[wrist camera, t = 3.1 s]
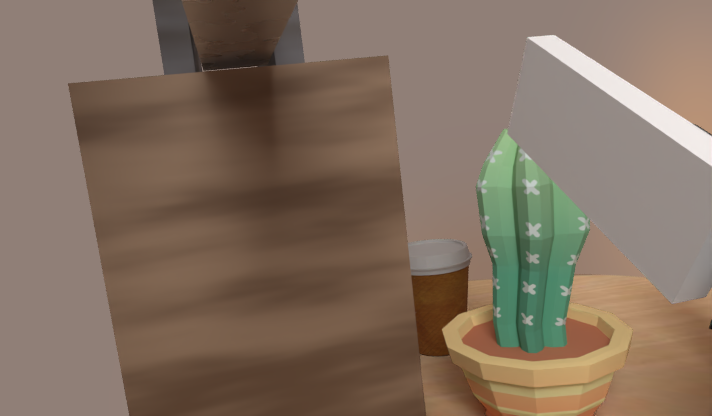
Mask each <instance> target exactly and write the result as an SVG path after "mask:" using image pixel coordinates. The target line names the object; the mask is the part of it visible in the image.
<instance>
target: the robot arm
mask: <svg viewBox="0 0 712 416" xmlns="http://www.w3.org/2000/svg"><path fill="white" fill-rule="evenodd" d="M507 134H508V135H509V136H510V137H511V138H512V139H513V140H514V141H515V142H516V143H517V144H518V146H519V147H520V148H521V149H522V150H523V151H524V152H525V153H526V154H527V155H528V156H529V157H530V158H531V159H532V160H533V161H534V162H535V163H536V164H537V165H538V166H539V167H540V168H541V169H542V170H543V171H544V172H545V173H546V174H547V175H548V177H549V178H550V179H551V180H552V181H553V182H554V183H555V184H556V185H557V186H558V187H559V188H560V189H561V190H562V191H563V192H564V193H565V194H566V195H567V196H568V197H569V198H570V199H571V200H572V201H573V202H574V203H575V204H576V205H577V206H578V208H579V209H580V210H581V211H582V212H583V213H584V214H585V215H586V216H587V217H588V218H589V219H590V220H591V221H592V222H593V223H594V224H595V225H596V226H597V227H598V228H599V229H600V230H601V231H602V232H603V233H604V234H605V235H606V236H607V237H608V238H609V240H610V241H611V242H612V243H613V244H614V245H615V246H616V247H617V248H618V249H619V250H620V251H621V252H622V253H623V254H624V255H625V256H626V257H627V258H628V259H629V260H630V261H631V262H632V263H633V264H634V265H635V266H636V267H637V268H638V269H639V271H640V272H641V273H643V275H644V276H645V277H646V278H647V279H648V280H649V281H650V282H651V283H652V284H653V285H654V286H655V287H656V288H657V289H658V290H659V291H660V292H661V293H662V294H663V295H664V296H665V297H666V298H667V299H668V300H669V302H670V303H671V304H675V303H679V302H684V301H689V300H694V299H698V298H703V297H706V296H707V294H708V292H709V291H710V289H711V287H712V135H711V134H710V133H708V132H707V131H705V130H704V129H702V128H701V127H699V126H697V125H695V124H692V123H690V122H689V121H687V120H685V119H684V118H683V117H681V116H679V115H678V114H676V113H675V112H673V111H672V110H670V109H668V108H667V107H665V106H664V105H662V104H661V103H659V102H658V101H656V100H655V99H653V98H651V97H650V96H648V95H647V94H645V93H644V92H642V91H640V90H639V89H637V88H636V87H634V86H633V85H631V84H630V83H628V82H626V81H625V80H623V79H622V78H620V77H619V76H617V75H615V74H614V73H613V72H611V71H609V70H607V69H606V68H605V67H603V66H602V65H600V64H599V63H597V62H595V61H594V60H592V59H591V58H589V57H587V56H586V55H584V54H583V53H581V52H580V51H578V50H577V49H575V48H574V47H572V46H571V45H569V44H567V43H566V42H564V41H563V40H561V39H560V38H558V37H557V36H555V35H551V36H539V37H527V41H526V46H525V50H524V55H523V60H522V66H521V70H520V75H519V80H518V84H517V89H516V94H515V99H514V104H513V108H512V113H511V118H510V123H509V128H508V133H507ZM709 329H712V320H711V323H710V326H709Z"/></svg>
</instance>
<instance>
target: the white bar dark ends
mask: <svg viewBox="0 0 712 416" xmlns="http://www.w3.org/2000/svg"><path fill="white" fill-rule="evenodd" d="M297 2H298V0H182V4H183V7H184V10H185V13H186V16H187V19H188V23H189V26H190V29H191V32H192V35H193V38H194V42H195V45H196V48H197V51H198V54H199V57H200V61H201V64H202V67H203V70H204V71H206V70H217V69H227V68H240V67H251V66H263V65H267V64H268V62H269V60H270V58H271V56H272V54H273V52H274V50H275V48H276V45H277V43H278V41H279V39H280V37H281V35H282V33H283V31H284V29H285V27H286V25H287V23H288V20H289V18H290V16H291V14H292V12H293V10H294V8H295V6H296V4H297Z"/></svg>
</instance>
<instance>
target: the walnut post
mask: <svg viewBox="0 0 712 416" xmlns="http://www.w3.org/2000/svg"><path fill="white" fill-rule="evenodd" d="M153 6H154V12H155V19H156V25H157V31H158V37H159V44H160V50H161V56H162V62H163V68H164V75H161V76H149V77H137V78H126V79H115V80H104V81H91V82H80V83H69V84H68V86H69V92H70V97H71V102H72V108H73V113H74V119H75V124H76V129H77V135H78V140H79V145H80V151H81V156H82V161H83V167H84V172H85V178H86V183H87V189H88V194H89V200H90V205H91V210H92V215H93V221H94V227H95V232H96V237H97V242H98V248H99V254H100V259H101V265H102V269H103V275H104V281H105V286H106V291H107V297H108V302H109V307H110V313H111V319H112V324H113V329H114V335H115V340H116V345H117V351H118V356H119V362H120V367H121V373H122V378H123V383H124V389H125V394H126V400H127V405H128V410H129V416H426V412H425V402H424V393H423V383H422V374H421V364H420V355H419V345H418V336H417V326H416V317H415V307H414V298H413V288H412V278H411V269H410V259H409V250H408V241H407V231H406V222H405V212H404V203H403V194H402V184H401V175H400V174H401V173H400V164H399V155H398V145H397V137H396V136H397V135H396V126H395V116H394V107H393V97H392V88H391V78H390V69H389V59H388V56H377V57H367V58H354V59H343V60H332V61H320V62H309V63H305V62H304V54H303V46H302V38H301V30H300V22H299V14H298V6H297V4H296V6H295V8H294V10H293V12H292V14H291V16H290V18H289V20H288V23H287V25H286V27H285V29H284V31H283V33H282V35H281V37H280V39H279V41H278V43H277V45H276V48H275V50H274V52H273V54H272V56H271V58H270V60H269V62H268V64H267V65H263V66H258V67H251V68H241V69H229V70H217V71H206V72H202V67H201V61H200V57H199V54H198V51H197V48H196V45H195V42H194V38H193V35H192V32H191V29H190V26H189V23H188V19H187V16H186V13H185V10H184V7H183V4H182V0H153Z"/></svg>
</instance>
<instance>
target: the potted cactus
mask: <svg viewBox="0 0 712 416" xmlns="http://www.w3.org/2000/svg"><path fill="white" fill-rule="evenodd" d="M507 133H508V129H503V131H502V133H501V134H500V136H499V138H498V140H497V141H496V143H495V145H494V147H493V148H492V150H491V152H490V153H489V155H488V157H487V158H486V160H485V162H484V165H483V167H482V170H481V173H480V176H479V179H478V182H477V185H476V191H477V199H478V207H479V214H480V222H481V229H482V235H483V238H484V240H485V244H486V246H487V249H488V252H489V255H490V258H491V261H492V263H493V304H490V305H487V306H483V307H480V308H477V309H474V310H471V311H467V312H464V313H461V314H459V315H457V316H456V317H455V318H454V319H453V320H452V321H451V322H450V323H448V324H447V325H446V326H445V327H444V328H443V329H442V331H443V335H444V338H445V341H446V344H447V348H448V351H449V354H450V357H451V360H452V363H453V364H455V365H457V366H459V367H461V368H462V371H463V373H464V375H465V377H466V379H467V381H468V384H469V386H470V388H471V390H472V392H473V395H474V396H475V397H476V398H477V399H478V400H479V401H480V402H481V403H482V405H483V406H484V407H485V408H486V416H594V412H595V411H596V409H597V408H598V407H599V406H600V405H601V404H602V402H603V401H604V400H605V398H606V395H607V392H608V389H609V386H610V383H611V380H612V377H613V374H614V371H616V370H619V369H621V368H623V367H624V364H625V361H626V358H627V355H628V351H629V348H630V344H631V339H632V334H633V329H631V328H630V327H629V326H628V325H626V324H625V323H624V322H623V321H621V320H620V319H619V318H618V317H616V316H615V315H614V314H613V313H609V312H605V311H602V310H598V309H595V308H591V307H587V306H584V305H580V304H577V303H569V301H570V295H571V289H572V283H573V277H574V272H575V265H576V262H577V260H578V258H579V255H580V252H581V250H582V248H583V245H584V243H585V240H586V238H587V235H588V233H589V231H590V219H589V218H588V217H587V216H586V215H585V214H584V213H583V212H582V211H581V210H580V209H579V208H578V206H577V205H576V204H575V203H574V202H573V201H572V200H571V199H570V198H569V197H568V196H567V195H566V194H565V193H564V192H563V191H562V190H561V189H560V188H559V187H558V186H557V185H556V184H555V183H554V182H553V181H552V180H551V179H550V178H549V177H548V175H547V174H546V173H545V172H544V171H543V170H542V169H541V168H540V167H539V166H538V165H537V164H536V163H535V162H534V161H533V160H532V159H531V158H530V157H529V156H528V155H527V154H526V153H525V152H524V151H523V150H522V149H521V148H520V147H519V146H518V144H517V143H516V142H515V141H514V140H513V139H512V138H511V137H510V136H509V135H508V134H507Z"/></svg>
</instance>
